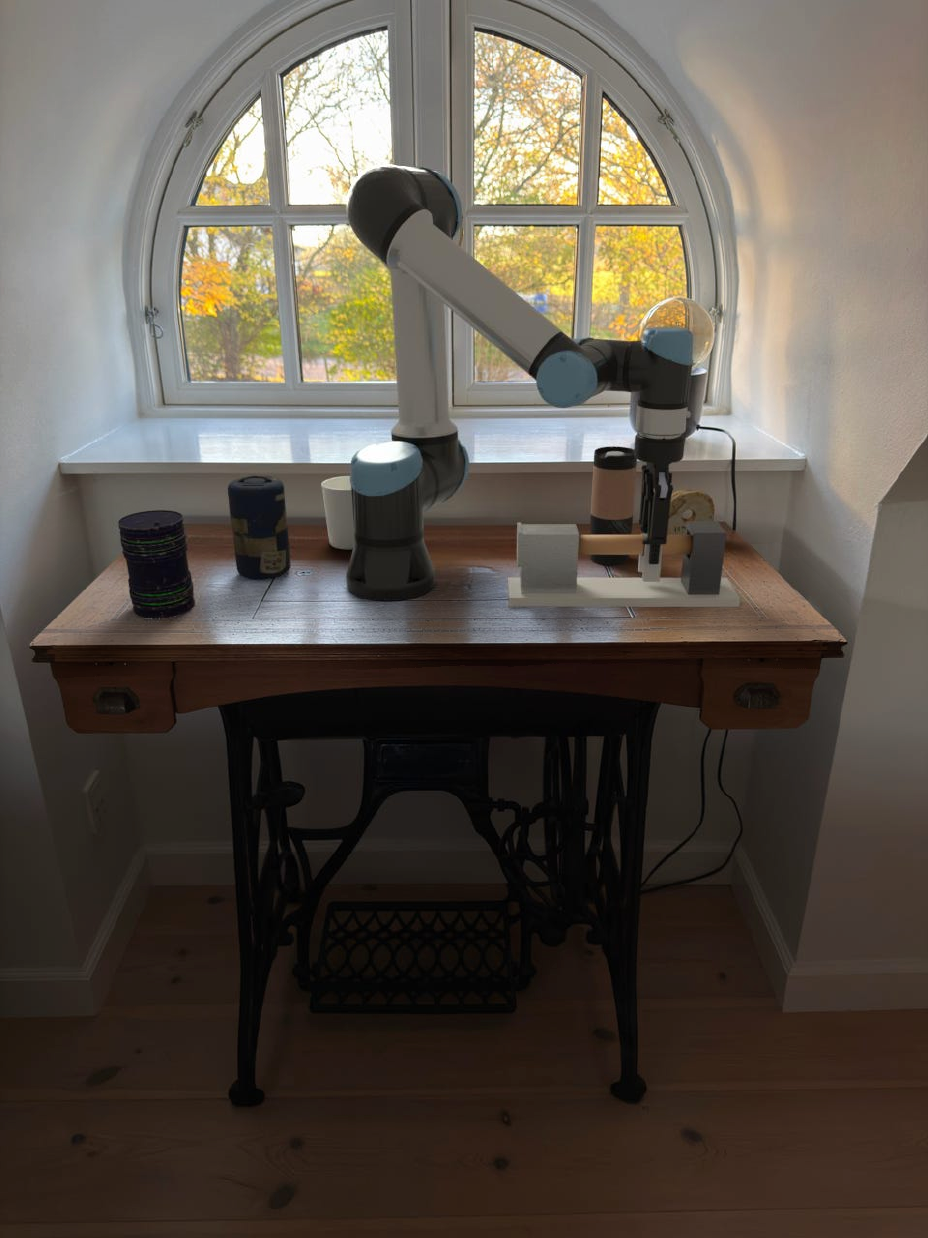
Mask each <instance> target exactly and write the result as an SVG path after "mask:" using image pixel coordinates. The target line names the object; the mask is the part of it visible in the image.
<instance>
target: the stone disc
mask: <svg viewBox="0 0 928 1238" xmlns="http://www.w3.org/2000/svg"><path fill="white" fill-rule="evenodd" d="M688 510H690V511H691V512H692V513H691V514H690V515H689V516H688V517H687V518H684V517H683V516H684V515H683V514H685V512H686V511H688ZM715 510H716V509H715V504H714V501H713V499H712V497H711V496H710V495H709V494H707V493H706V492H705V491H702V490H697V489H680V490H676V491H675V492H672V495H671V501H670V511H669V520H668V530H667V535H685V532H686V522H687V521H715Z"/></svg>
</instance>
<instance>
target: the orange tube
mask: <svg viewBox="0 0 928 1238" xmlns="http://www.w3.org/2000/svg"><path fill="white" fill-rule="evenodd" d="M641 533H642V534H641ZM641 533H640V534H631V535H590V534H579V547H578V556H579V555H584V556H585V555H586V556H587V555H588V556H590V555H629V556H630V555H636V556H637V555H638V556H639V555H641V556H644V549H645V544H642V540H647V533H643V532H641ZM691 546H692V535H667V542H666V544H663V549H662V556H663V555H668V556H669V555H670V556H671V555H673V556H675V555H676V556H677V555H682V556H683V555H691Z"/></svg>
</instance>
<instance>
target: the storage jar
mask: <svg viewBox="0 0 928 1238" xmlns="http://www.w3.org/2000/svg"><path fill="white" fill-rule="evenodd" d="M117 524H118V529H119V541H120V546H121V547H122V548H121V549H122V552H121V553H122V554H123V558H124V559H125V562H126V568H127V573H128V579H127V581H128V587H129V589H128V592H129V597H130V599H131V603H132V605H133V607H132V610H133V614H134V613H135V614H136V615H137V616H136V615H135V614H134V615H135V616H136V617H138V616H140V617H139V618H141V617H142V619H145V618H150V619H149V620H162V619H161V618H166V619H171V618H170V617H172V618H175V617H174V616H176V617H179V616H178V615H180V614H182V615H184V614H183V613H185V614H186V612H187V613H189V612H190V611H192V610H193V609H194V608H195V606H196V601H195V599H194V595H195V592H194V588H195V587H194V583H193V579H192V572H191V571H190V567H189V563H188V555H187V552H188V542H187V534H186V529H185V525H184V517H183V514H182V513H180V512H177V511H175V510H167V509H159V510H157V509H156V510H147V511H146V510H145V511H138V512H134V513H130V514H128V515H125V516H123V517H121V518H120V519H119V520H118V521H117ZM193 607H194V608H193ZM192 608H193V609H192ZM191 609H192V610H191ZM188 611H189V612H188ZM180 616H181V615H180ZM151 618H152V619H151ZM159 618H160V619H159Z"/></svg>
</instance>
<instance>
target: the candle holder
mask: <svg viewBox="0 0 928 1238" xmlns="http://www.w3.org/2000/svg"><path fill="white" fill-rule="evenodd" d="M320 485H321V486H320V487H321V491H322V497H323V505H324V514H325V520H326V529H327V535H328V541H329V544H330V546H331V547H332V548H334V549H340V550H353V547H354V543H355V540H354V525H353V509H352V494H351V484H350V475H343V476H342V475H341V476H336V477H330V478H328V479H325V480H323V481H322V482H321V483H320Z"/></svg>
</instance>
